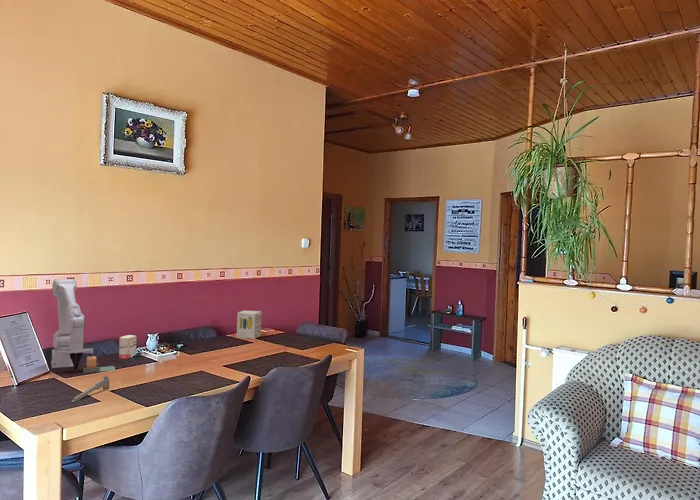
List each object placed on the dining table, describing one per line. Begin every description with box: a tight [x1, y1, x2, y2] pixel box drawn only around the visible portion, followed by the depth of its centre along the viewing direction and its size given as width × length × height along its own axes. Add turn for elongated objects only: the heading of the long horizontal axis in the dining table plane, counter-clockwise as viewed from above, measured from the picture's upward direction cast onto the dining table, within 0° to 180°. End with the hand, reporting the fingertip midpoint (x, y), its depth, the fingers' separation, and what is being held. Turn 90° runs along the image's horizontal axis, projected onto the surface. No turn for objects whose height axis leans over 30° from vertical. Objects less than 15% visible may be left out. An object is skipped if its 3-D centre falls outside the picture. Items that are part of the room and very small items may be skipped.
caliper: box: [70, 374, 110, 403], centre depth 205 cm, size 20×1×6 cm, turn 167°
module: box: [86, 355, 97, 368], centre depth 241 cm, size 4×6×6 cm, turn 30°
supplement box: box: [236, 310, 263, 340], centre depth 342 cm, size 13×13×18 cm
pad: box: [99, 365, 116, 372], centre depth 245 cm, size 7×9×1 cm
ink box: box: [118, 334, 137, 360], centre depth 270 cm, size 9×5×12 cm, turn 168°
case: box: [82, 362, 101, 374], centre depth 244 cm, size 7×15×2 cm, turn 30°
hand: (75, 368), depth 238 cm, fingers closed
